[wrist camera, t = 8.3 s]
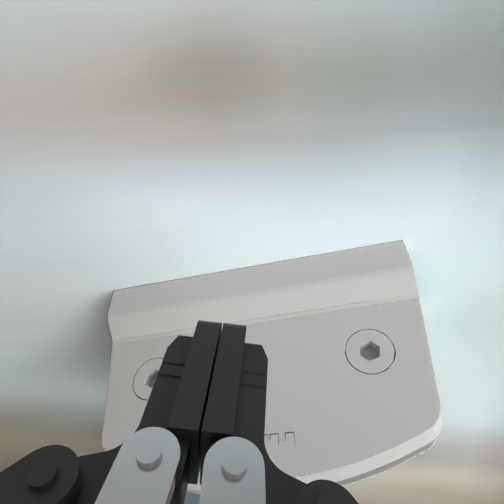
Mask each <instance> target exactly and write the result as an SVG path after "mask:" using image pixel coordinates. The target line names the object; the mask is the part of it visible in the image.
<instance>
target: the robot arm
mask: <svg viewBox="0 0 504 504" xmlns="http://www.w3.org/2000/svg"><path fill="white" fill-rule="evenodd" d="M246 328H247V326H246V325H237V324H229V323H224V324H223V328H222V323H219V322H211V321H202V320H198V322H197V325H196V329H195V332H194V336H193V337H190V336H182V335H179V336H178V337H177V338H176V339H175V340H174V341H173V342H172V343H171V344H170V345H169V346H168V347H167V350H166V352H165V355H164V358H163V361H162V365H161V366H160V369H159V372H158V376H157V377H156V380H155V383H154V385H153V388H152V391H151V394H150V396H149V399H148V402H147V405H146V407H145V410H144V413H143V416H142V418H141V421H140V424H139V426H138V428H137V429H136V431H135V432H134V434H132V435H131V436H130V437H129V438H128V439H127V440H126V441H125V442H124V443H123V444H121V445H119V446H118V447H116V448H114V449H111V450H108V451H104V452H100V453H95V454H90V455H85V456H80V457H77V456H76V454H75V453H74V452H73V451H72V450H71V449H70V448H68V447H65V446H61V445H50V446H46V447H42V448H40V449H37V450H35V451H33V452H32V453H30V454H28V455H27V456H25V457H24V458H22V459H21V460H19V461H18V462H16V463H14V464H13V465H11V466H10V467H8V468H7V469H5V470H4V471H2V472H1V473H0V504H184V501H185V496H186V491H187V486H188V483H189V484H197V483H198V478H199V472H200V485H201V492H200V502H199V504H358V503H357V501H356V500H355V499H354V498H353V496H352V495H351V494H350V493H349V492H348V491H347V490H346V489H345V488H344V487H342V486H341V485H339V484H338V483H335V482H333V481H330V480H323V479H320V480H315V481H312V482H310V483H308V484H306V483H304V482H302V481H300V480H298V479H296V478H294V477H292V476H290V475H288V474H286V473H285V472H283V471H281V470H280V469H279V468H278V467H277V466H276V465H275V464H274V463H273V462H272V460H271V459H270V457H269V455H268V453H267V451H266V448H265V443H264V433H265V412H266V391H267V390H266V389H267V371H268V358H267V355H266V353H265V351H264V349H263V346H262V345H258V344H250V343H245V337H246Z"/></svg>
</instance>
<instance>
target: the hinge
mask: <svg viewBox="0 0 504 504" xmlns="http://www.w3.org/2000/svg"><path fill="white" fill-rule="evenodd" d="M198 320H202V321H211V322H219V323H222V328H223V324H224V323H229V324H237V325H246V326H247V328H246V337H245V343H250V344H258V345H262V346H263V349H264V351H265V353H266V355H267V358H268V371H267V389H266V390H267V391H266V412H265V433H264V443H265V448H266V451H267V453H268V455H269V457H270V459H271V460H272V462H273V463H274V464H275V465H276V466H277V467H278V468H279V469H280V470H281V471H283V472H285V473H286V474H288V475H290V476H292V477H294V478H296V479H298V480H300V481H302V482H304V483H306V484H308V483H310V482H312V481H315V480H320V479H323V480H330V481H333V482H335V483H338V484H339V485H341V486H346V485H350V484H353V483H356V482H358V481H361V480H364V479H367V478H369V477H372V476H375V475H378V474H380V473H383V472H386V471H389V470H391V469H393V468H395V467H397V466H399V465H400V464H402V463H404V462H406V461H408V460H410V459H412V458H414V457H416V456H418V455H420V454H422V453H424V452H426V451H427V450H429V449H430V448H431V447H432V446H433V445H434V443H435V442H436V440H437V438H438V434H439V432H440V430H441V428H442V422H443V416H442V411H441V405H440V400H439V395H438V389H437V384H436V379H435V373H434V369H433V364H432V359H431V354H430V349H429V344H428V339H427V334H426V329H425V325H424V320H423V315H422V310H421V305H420V300H419V295H418V290H417V286H416V281H415V276H414V271H413V267H412V263H411V260H410V257H409V255H408V252H407V250H406V247H405V245H404V242H403V240H399V241H394V242H388V243H382V244H377V245H371V246H365V247H360V248H354V249H348V250H342V251H337V252H331V253H325V254H320V255H314V256H308V257H303V258H297V259H291V260H285V261H280V262H274V263H268V264H263V265H257V266H251V267H246V268H240V269H234V270H228V271H223V272H217V273H211V274H206V275H200V276H194V277H189V278H183V279H177V280H172V281H166V282H160V283H154V284H149V285H143V286H137V287H132V288H126V289H120V290H115V291H114V293H113V296H112V300H111V304H110V308H109V311H108V323H109V327H110V332H111V336H112V344H113V345H112V354H111V362H110V371H109V380H108V389H107V398H106V406H105V415H104V424H103V433H102V446H103V450H104V451H108V450H111V449H114V448H116V447H118V446H119V445H121V444H123V443H124V442H125V441H126V440H127V439H128V438H129V437H130V436H131V435H132V434H134V432H135V431H136V429H137V428H138V426H139V424H140V421H141V418H142V416H143V413H144V410H145V407H146V405H147V402H148V399H149V396H150V394H151V391H152V388H153V385H154V383H155V380H156V377H157V376H158V372H159V369H160V366H161V365H162V361H163V358H164V355H165V352H166V350H167V347H168V346H169V345H170V344H171V343H172V342H173V341H174V340H175V339H176V338H177V337H178V336H179V335H182V336H190V337H193V336H194V332H195V329H196V325H197V322H198ZM187 492H191V493H196V494H200V492H201V485H200V472H199V478H198V483H197V484H189V483H188V486H187Z"/></svg>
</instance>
